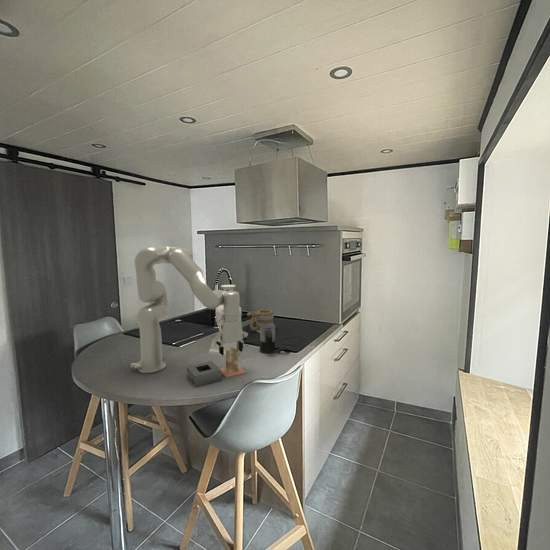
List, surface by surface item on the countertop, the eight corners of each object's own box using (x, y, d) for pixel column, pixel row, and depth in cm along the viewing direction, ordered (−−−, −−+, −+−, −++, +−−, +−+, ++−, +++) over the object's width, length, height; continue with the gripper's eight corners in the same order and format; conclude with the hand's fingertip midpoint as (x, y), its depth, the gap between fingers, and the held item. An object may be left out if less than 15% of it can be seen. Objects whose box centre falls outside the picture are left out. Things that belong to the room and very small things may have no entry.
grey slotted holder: (194, 387, 130) (194, 376, 129) (187, 376, 140) (186, 366, 139) (221, 380, 136) (221, 370, 135) (211, 370, 146) (211, 361, 146)
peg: (229, 373, 142) (229, 352, 141) (225, 369, 146) (225, 349, 145) (238, 370, 144) (238, 350, 143) (234, 367, 148) (234, 347, 147)
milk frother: (256, 349, 176) (256, 324, 174) (280, 345, 183) (281, 321, 181) (267, 357, 163) (267, 331, 161) (292, 353, 170) (292, 327, 168)
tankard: (268, 327, 219) (268, 307, 218) (277, 332, 208) (277, 311, 207) (243, 331, 210) (243, 310, 208) (250, 336, 199) (250, 314, 197)
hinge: (207, 353, 168) (210, 335, 170) (211, 353, 172) (214, 336, 174) (234, 357, 162) (237, 339, 165) (238, 357, 167) (241, 339, 169)
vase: (211, 343, 185) (210, 286, 181) (223, 335, 201) (222, 283, 196) (234, 346, 180) (234, 288, 176) (245, 337, 196) (245, 284, 191)
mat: (226, 378, 138) (226, 376, 138) (218, 370, 147) (218, 368, 147) (246, 373, 144) (246, 371, 144) (237, 365, 152) (237, 364, 152)
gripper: (216, 321, 134) (216, 358, 136) (251, 317, 144) (250, 351, 146) (211, 317, 141) (211, 353, 143) (244, 313, 150) (244, 346, 152)
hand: (231, 352), depth 144 cm, fingers open, 9 cm apart
